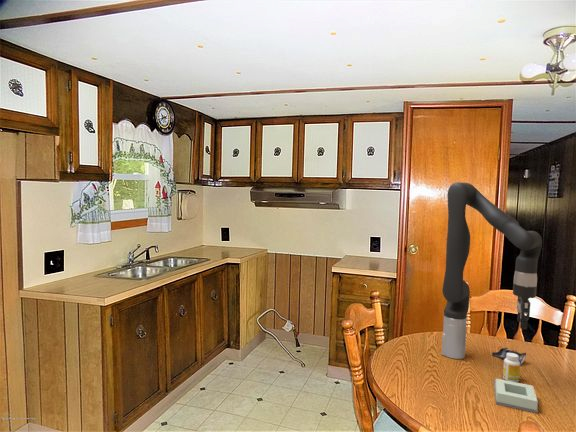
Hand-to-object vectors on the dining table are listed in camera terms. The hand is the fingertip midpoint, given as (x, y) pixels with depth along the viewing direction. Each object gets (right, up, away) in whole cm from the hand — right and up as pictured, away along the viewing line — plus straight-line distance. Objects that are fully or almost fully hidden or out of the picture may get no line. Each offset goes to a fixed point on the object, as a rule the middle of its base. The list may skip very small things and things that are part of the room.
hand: (521, 325), depth 149 cm
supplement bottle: (-4, -21, +1) cm, 21 cm away
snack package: (+5, -20, +19) cm, 28 cm away
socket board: (-10, -21, -12) cm, 27 cm away
